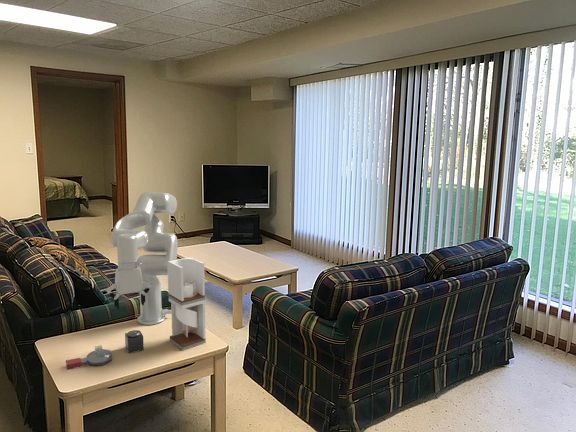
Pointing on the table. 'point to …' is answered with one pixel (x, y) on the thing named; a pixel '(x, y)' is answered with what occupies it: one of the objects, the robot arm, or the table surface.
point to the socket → (134, 341)
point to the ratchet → (91, 359)
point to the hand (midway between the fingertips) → (130, 306)
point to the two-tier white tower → (187, 302)
